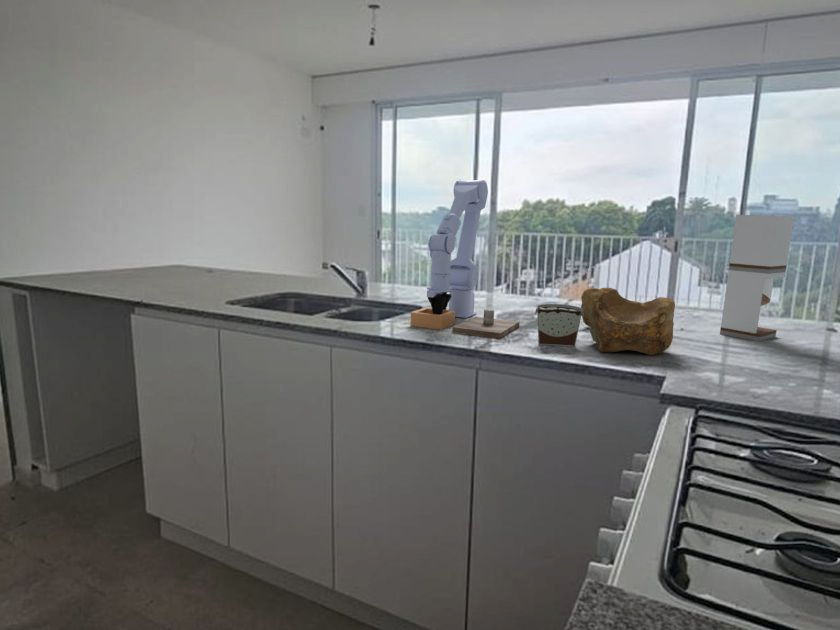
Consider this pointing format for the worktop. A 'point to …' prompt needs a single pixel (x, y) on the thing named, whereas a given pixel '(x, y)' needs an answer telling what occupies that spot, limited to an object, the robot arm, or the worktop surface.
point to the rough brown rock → (628, 321)
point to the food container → (558, 324)
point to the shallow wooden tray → (432, 319)
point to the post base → (486, 326)
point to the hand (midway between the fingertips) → (438, 317)
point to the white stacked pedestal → (754, 272)
